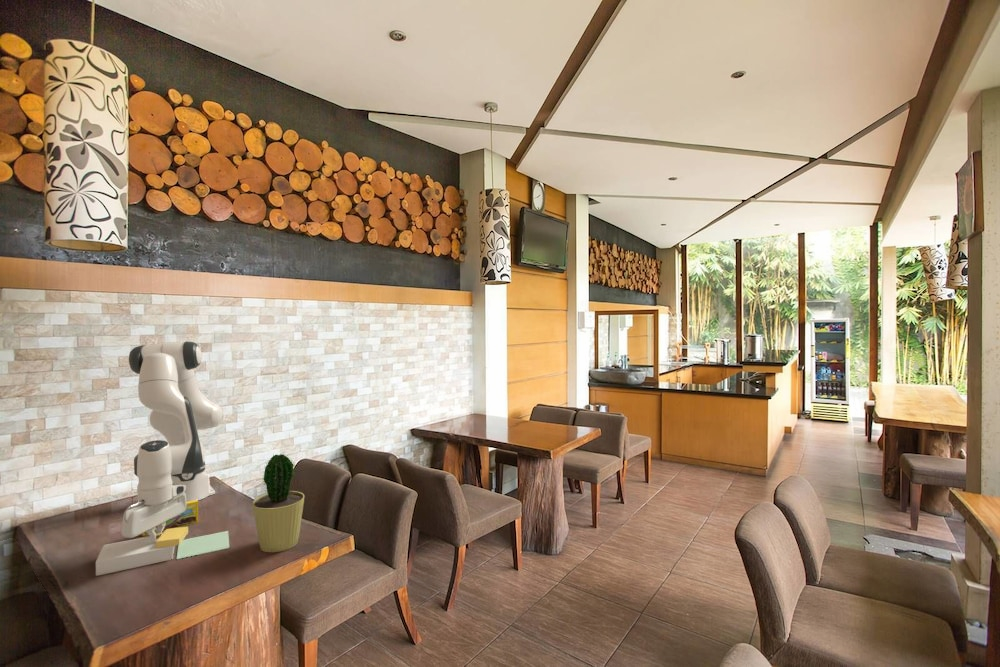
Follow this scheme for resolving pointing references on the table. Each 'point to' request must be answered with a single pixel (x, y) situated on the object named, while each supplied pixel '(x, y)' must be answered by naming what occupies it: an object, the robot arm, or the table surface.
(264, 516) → the potted cactus
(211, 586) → the table surface
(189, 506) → the candy box
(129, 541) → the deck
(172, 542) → the block
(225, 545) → the mat
